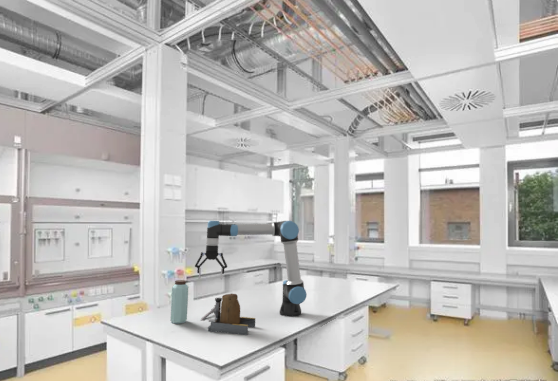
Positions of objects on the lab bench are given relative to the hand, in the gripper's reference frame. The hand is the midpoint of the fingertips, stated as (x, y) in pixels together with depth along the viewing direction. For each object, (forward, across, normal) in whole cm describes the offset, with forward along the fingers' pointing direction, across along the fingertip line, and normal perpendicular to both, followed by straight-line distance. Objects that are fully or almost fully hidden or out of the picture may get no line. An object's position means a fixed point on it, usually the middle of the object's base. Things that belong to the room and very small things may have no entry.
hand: (210, 278), depth 231 cm
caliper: (+27, 0, -11) cm, 29 cm away
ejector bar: (+26, -6, +13) cm, 30 cm away
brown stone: (+26, -14, +16) cm, 34 cm away
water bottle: (+27, +18, +1) cm, 32 cm away
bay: (+26, -16, +16) cm, 35 cm away
